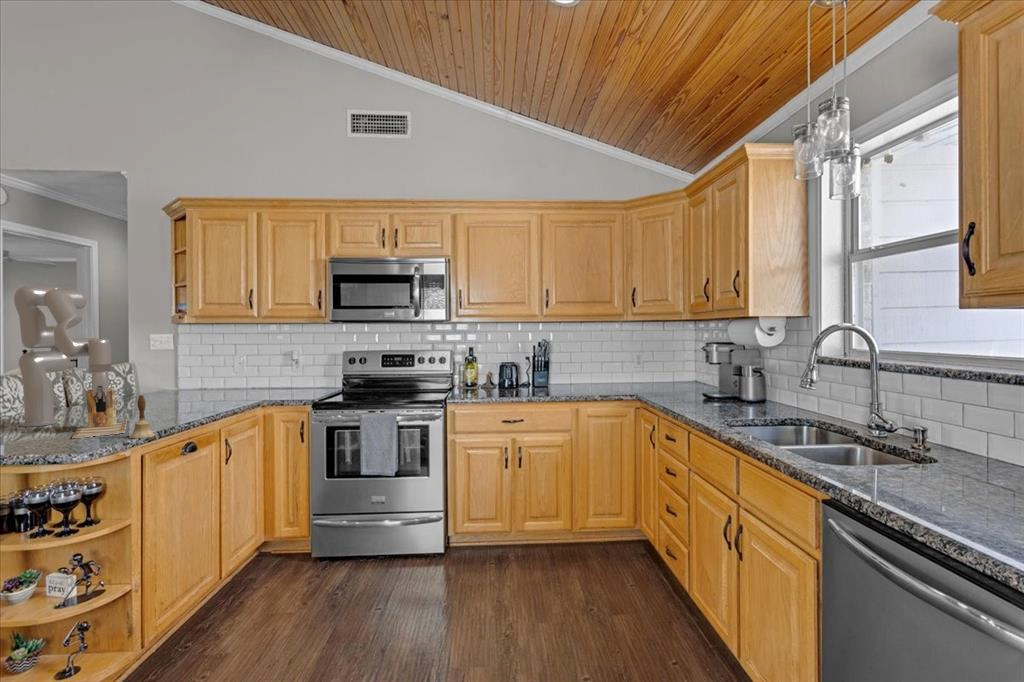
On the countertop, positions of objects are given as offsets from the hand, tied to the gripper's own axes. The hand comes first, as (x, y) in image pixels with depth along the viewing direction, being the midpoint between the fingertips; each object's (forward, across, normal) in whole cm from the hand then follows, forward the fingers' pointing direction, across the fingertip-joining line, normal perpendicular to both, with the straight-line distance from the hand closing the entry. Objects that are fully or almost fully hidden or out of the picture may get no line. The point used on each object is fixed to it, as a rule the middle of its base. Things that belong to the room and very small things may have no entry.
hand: (102, 410), depth 224 cm
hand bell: (+8, +28, +14) cm, 32 cm away
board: (+8, +7, 0) cm, 10 cm away
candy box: (+7, 0, 0) cm, 7 cm away
